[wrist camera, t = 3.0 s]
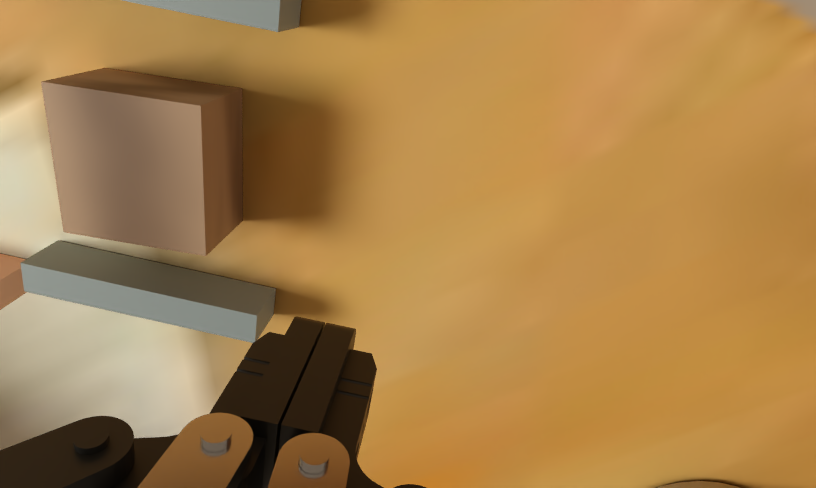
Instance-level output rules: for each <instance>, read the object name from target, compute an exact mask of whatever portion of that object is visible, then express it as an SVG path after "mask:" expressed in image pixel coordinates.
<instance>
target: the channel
mask: <svg viewBox="0 0 816 488" xmlns="http://www.w3.org/2000/svg"><path fill="white" fill-rule="evenodd" d="M123 1H128V2H133V3H138V4H143V5H148V6H153V7H158V8H163V9H168V10H173V11H178V12H182V13H187V14H192V15H197V16H202V17H207V18H212V19H217V20H222V21H227V22H232V23H237V24H242V25H247V26H251V27H256V28H261V29H266V30H271V31H276V32H280V31H284V30H288V29H293V28H297V27H299V22H300V10H301V0H123ZM21 271H22V278H23V286H24V291H25V292H29V293H34V294H38V295H43V296H47V297H52V298H56V299H60V300H65V301H69V302H74V303H78V304H83V305H87V306H92V307H96V308H100V309H105V310H109V311H114V312H118V313H123V314H127V315H132V316H136V317H140V318H145V319H149V320H154V321H158V322H163V323H167V324H172V325H176V326H180V327H185V328H189V329H194V330H198V331H203V332H207V333H212V334H216V335H220V336H225V337H229V338H234V339H238V340H243V341H247V342H252V343H254V342H255V341H257V339H258V338H259V336H260V335H261V333H262V332H263V330H264V328H265V327H266V325H267V324H268V322H269V321H270V319H271V318H272V316H273V314H274V303H275V292H276V288H271V287H267V286H262V285H258V284H253V283H249V282H244V281H240V280H235V279H231V278H226V277H222V276H217V275H212V274H208V273H203V272H199V271H194V270H190V269H185V268H181V267H176V266H172V265H167V264H163V263H158V262H154V261H149V260H145V259H140V258H135V257H131V256H126V255H122V254H117V253H113V252H108V251H104V250H99V249H95V248H90V247H86V246H81V245H77V244H72V243H68V242H63V241H56V242H55V243H53V244H51V245H50V246H48V247H46V248H45V249H43V250H41V251H40V252H38V253H36V254H35V255H33V256H31V257H30V258H28V259H26V260H25V261H23V262H21Z"/></svg>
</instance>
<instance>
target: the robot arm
mask: <svg viewBox="0 0 816 488" xmlns="http://www.w3.org/2000/svg"><path fill="white" fill-rule="evenodd" d="M355 335H356V329H353V328H349V327H344V326H339V325H335V324H330V323H326V325H325V322H320V321H315V320H310V319H306V318H301V317H295V318H294V319H293V321H292V323H291V325H290V327H289V328H288V330H287V332H286V334H285V335H281V334H276V333H272V332H269V333H267V334H266V335H264V336H263V337H261V338H260V339H258V340H257V341H255V342H254V343H253V344H252V346H251V347H250V349H249V350H248V352H247V354H246V355H245V357H244V360H242V362H241V363H240V365H239V367H238V368H237V372H235V373H234V375H233V376H232V378H231V380H230V381H229V383H228V384H227V386H226V388H225V389H224V391H223V392H222V394H221V396H220V397H219V399H218V401H217V402H216V404H215V405H214V407H213V409H212V410H211V412H210V413H209V414H207V415H203V416H200V417H198V418H196V419H194V420H192V421H191V422H190V423H188V424H187V425H186V426H185V427H184V428H183V429H182V431H181V432H180V433H179V434H178V435H174V436H169V437H155V438H134V435H133V431H132V429H131V427H130V426H129V425H128V424H127V423H126V422H124V421H123V420H121V419H118V418H115V417H109V416H96V417H89V418H85V419H82V420H79V421H76V422H73V423H71V424H68V425H66V426H63V427H60V428H58V429H55V430H53V431H50V432H47V433H45V434H42V435H40V436H37V437H34V438H32V439H29V440H27V441H24V442H21V443H19V444H16V445H14V446H11V447H8V448H6V449H3V450H1V451H0V488H383V487H382V486H380V485H378V484H376V483H375V482H373V481H372V480H371V479H369V478H368V477H367V476H366V475H365V474H364V473H363V471H362V470H361V468H360V467H359V464H358V462H357V457H358V453H359V449H360V445H361V441H362V438H363V433H364V430H365V426H366V422H367V418H368V413H369V408H370V402H371V397H372V392H373V386H374V381H375V375H376V370H377V368H376V365H375V362H374V359H373V356H372V354H371V353H366V352H361V351H357V350H353V348H354V342H355ZM394 488H426V487H423V486H419V485H414V484H406V485H400V486H397V487H394ZM658 488H740V487H737V486H732V485H728V484H724V483H719V482H707V481H692V482H679V483H674V484H670V485H665V486H661V487H658Z"/></svg>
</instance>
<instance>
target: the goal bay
mask: <svg viewBox="0 0 816 488" xmlns="http://www.w3.org/2000/svg"><path fill="white" fill-rule="evenodd" d="M25 260H26V259H22V258H18V257H13V256H9V255H4V254H0V310H1V309H2V308H4V307H5V306H7V305H8V304H10V303H11V302H13V301H14V300H16V299H17V298H19V297H20V296H22V295H23V294H25V293H26V292H25V291H24V286H23V278H22V271H21V262H23V261H25Z"/></svg>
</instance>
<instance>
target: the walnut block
mask: <svg viewBox="0 0 816 488" xmlns="http://www.w3.org/2000/svg"><path fill="white" fill-rule="evenodd" d="M41 84H42V90H43V97H44V104H45V110H46V117H47V124H48V130H49V137H50V144H51V151H52V157H53V164H54V171H55V177H56V184H57V191H58V197H59V204H60V211H61V217H62V224H63V231H64V232H66V233H72V234H78V235H84V236H90V237H96V238H102V239H108V240H114V241H120V242H126V243H132V244H137V245H143V246H149V247H155V248H161V249H167V250H173V251H179V252H185V253H191V254H197V255H203V256H206V255H207V254H208V253H209V252H210V251H212V250H213V249H214V248H215V247H216V246H217V245H218V244H219V243H220V242H221V241H222V240H223V239H224V238H225V237H226V236H227V235H228V234H229V233H230V232H231V231H232V230H233V229H234V228H235V227H236V226H238V225H239V224H240V223H241V222H242V221H243V157H242V88H237V87H230V86H223V85H217V84H210V83H203V82H196V81H190V80H183V79H176V78H169V77H163V76H156V75H149V74H142V73H136V72H129V71H122V70H115V69H109V68H102V69H97V70H93V71H88V72H84V73H79V74H74V75H70V76H65V77H61V78H56V79H51V80H47V81H42V82H41Z"/></svg>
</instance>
